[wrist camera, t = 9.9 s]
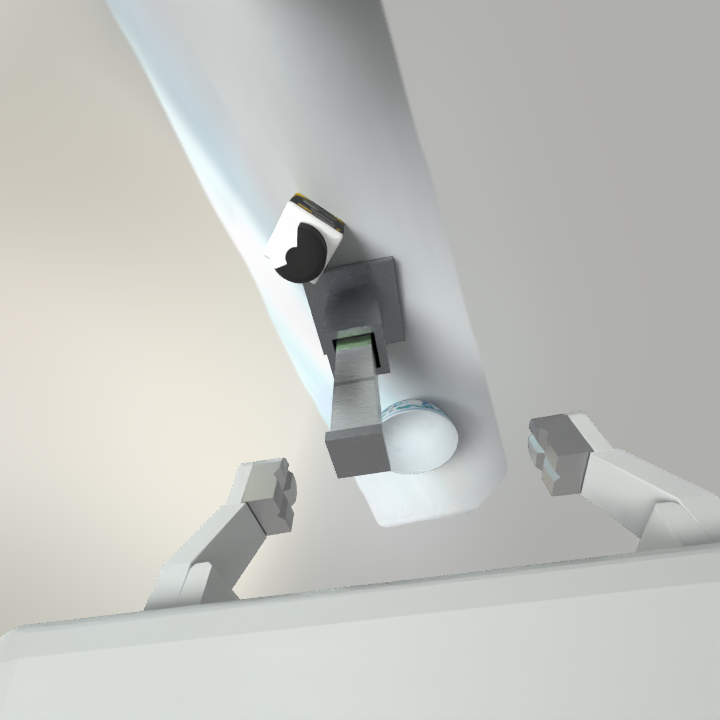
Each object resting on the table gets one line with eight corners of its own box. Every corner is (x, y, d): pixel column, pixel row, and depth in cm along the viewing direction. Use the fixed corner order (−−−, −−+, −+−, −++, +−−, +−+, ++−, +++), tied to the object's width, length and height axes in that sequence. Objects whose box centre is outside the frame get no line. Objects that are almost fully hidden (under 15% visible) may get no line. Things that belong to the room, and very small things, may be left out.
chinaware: (445, 374, 61) (456, 403, 54) (450, 435, 69) (460, 467, 63) (359, 388, 62) (360, 418, 56) (374, 447, 70) (376, 479, 64)
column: (335, 317, 47) (324, 441, 28) (370, 310, 46) (382, 432, 28) (343, 346, 49) (338, 478, 31) (376, 340, 49) (391, 470, 30)
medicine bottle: (345, 222, 47) (343, 248, 37) (319, 267, 50) (311, 301, 40) (297, 190, 45) (281, 208, 35) (272, 239, 48) (251, 269, 38)
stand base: (302, 273, 51) (287, 315, 39) (392, 255, 50) (404, 293, 38) (324, 349, 58) (318, 403, 46) (404, 335, 57) (417, 387, 45)
